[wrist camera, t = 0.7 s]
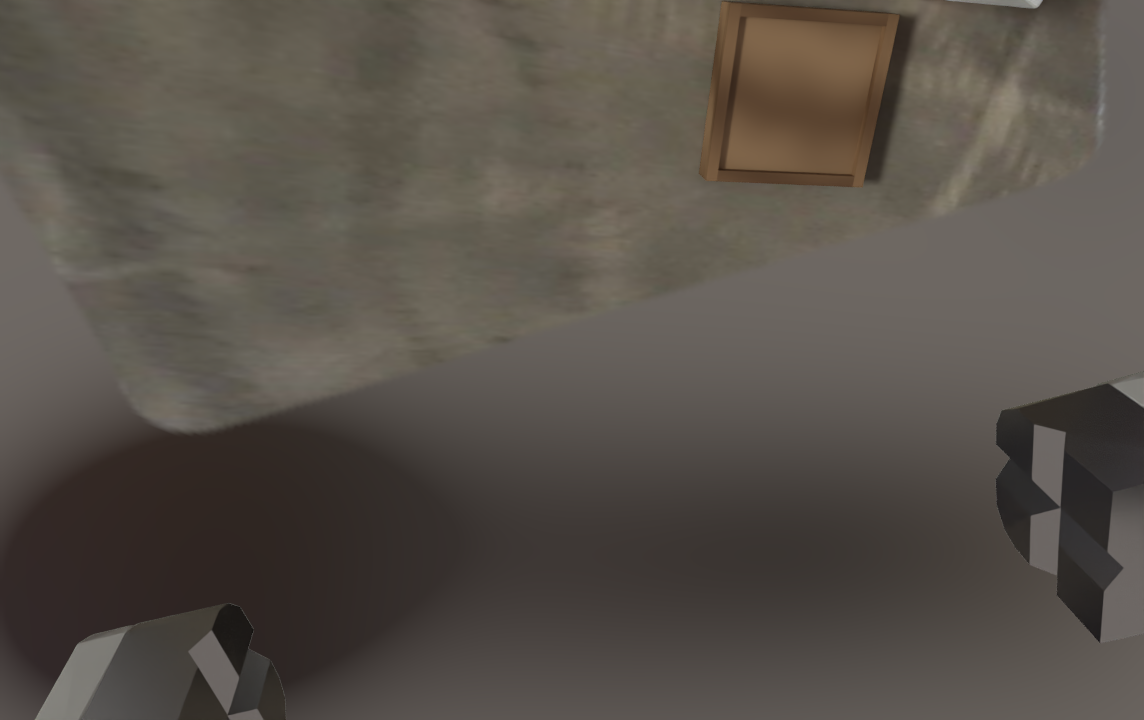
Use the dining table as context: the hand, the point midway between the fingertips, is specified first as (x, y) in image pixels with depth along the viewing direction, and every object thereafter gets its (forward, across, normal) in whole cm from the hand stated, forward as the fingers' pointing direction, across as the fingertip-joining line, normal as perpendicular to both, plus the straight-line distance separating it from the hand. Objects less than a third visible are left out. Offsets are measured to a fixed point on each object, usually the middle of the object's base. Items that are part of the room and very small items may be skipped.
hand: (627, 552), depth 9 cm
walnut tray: (+41, -15, +6) cm, 44 cm away
